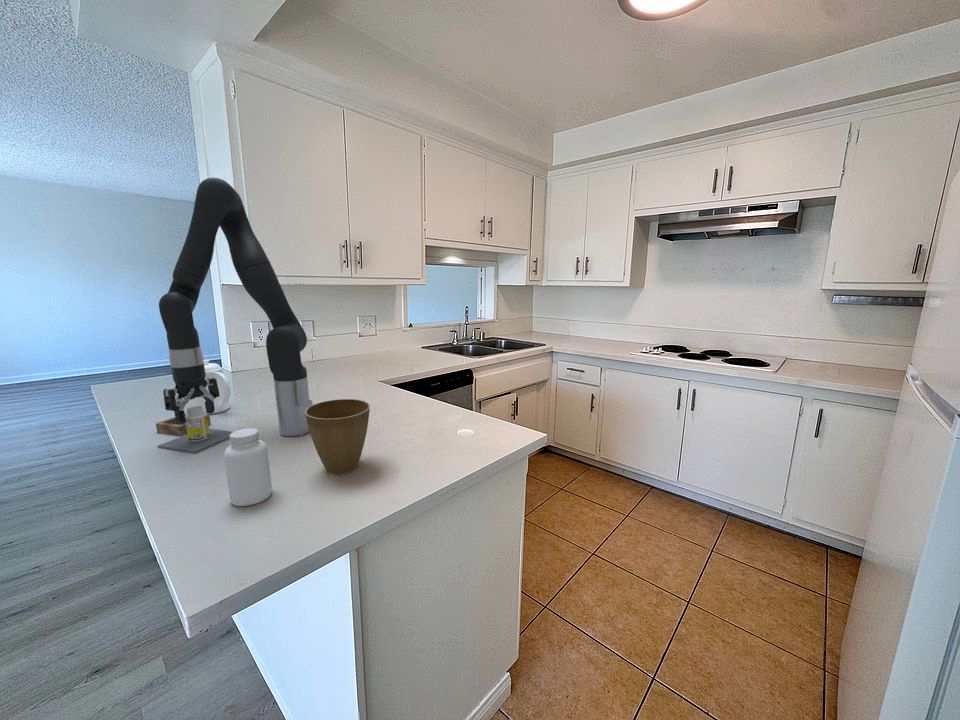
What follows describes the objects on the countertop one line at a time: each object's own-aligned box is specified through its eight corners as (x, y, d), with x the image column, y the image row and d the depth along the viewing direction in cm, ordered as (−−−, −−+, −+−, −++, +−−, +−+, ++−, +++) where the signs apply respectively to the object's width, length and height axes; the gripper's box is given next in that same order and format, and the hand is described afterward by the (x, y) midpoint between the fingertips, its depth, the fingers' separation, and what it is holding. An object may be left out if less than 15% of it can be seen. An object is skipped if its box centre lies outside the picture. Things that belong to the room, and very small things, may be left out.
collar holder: (210, 424, 127) (209, 416, 126) (180, 436, 118) (179, 426, 117) (188, 421, 130) (186, 413, 129) (157, 432, 120) (155, 423, 120)
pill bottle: (279, 487, 89) (271, 425, 86) (261, 507, 81) (252, 440, 78) (244, 487, 88) (235, 425, 85) (222, 508, 81) (211, 440, 77)
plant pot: (306, 487, 89) (300, 421, 85) (314, 458, 103) (309, 401, 99) (374, 477, 93) (370, 414, 89) (372, 451, 107) (369, 396, 103)
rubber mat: (239, 434, 119) (239, 432, 119) (195, 453, 106) (194, 451, 106) (204, 429, 123) (204, 427, 123) (157, 447, 110) (157, 445, 110)
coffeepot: (208, 401, 151) (201, 354, 148) (247, 411, 140) (241, 360, 136) (176, 409, 142) (168, 359, 138) (215, 420, 131) (207, 366, 127)
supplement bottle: (203, 434, 117) (198, 404, 115) (214, 437, 115) (209, 406, 113) (184, 440, 113) (179, 409, 111) (195, 443, 111) (190, 412, 109)
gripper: (171, 369, 102) (182, 428, 105) (220, 359, 115) (228, 411, 118) (150, 368, 104) (161, 425, 107) (201, 358, 117) (209, 409, 120)
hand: (196, 417), depth 113 cm, fingers open, 8 cm apart
